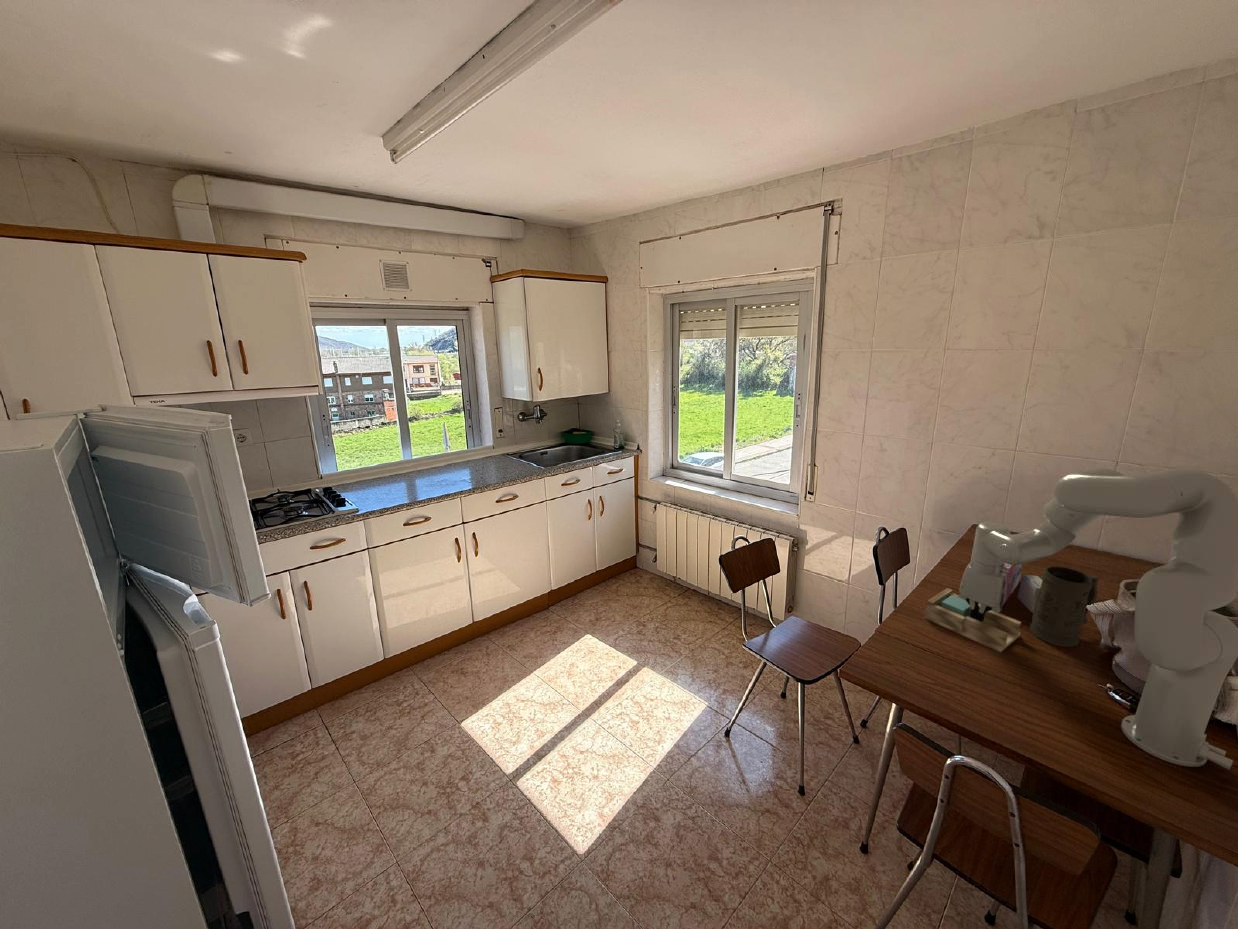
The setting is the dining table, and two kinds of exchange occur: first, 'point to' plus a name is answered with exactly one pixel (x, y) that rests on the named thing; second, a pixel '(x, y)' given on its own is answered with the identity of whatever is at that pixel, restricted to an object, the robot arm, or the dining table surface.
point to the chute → (974, 623)
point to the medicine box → (1029, 590)
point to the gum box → (1012, 578)
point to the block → (957, 606)
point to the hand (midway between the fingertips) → (976, 621)
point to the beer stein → (1063, 605)
